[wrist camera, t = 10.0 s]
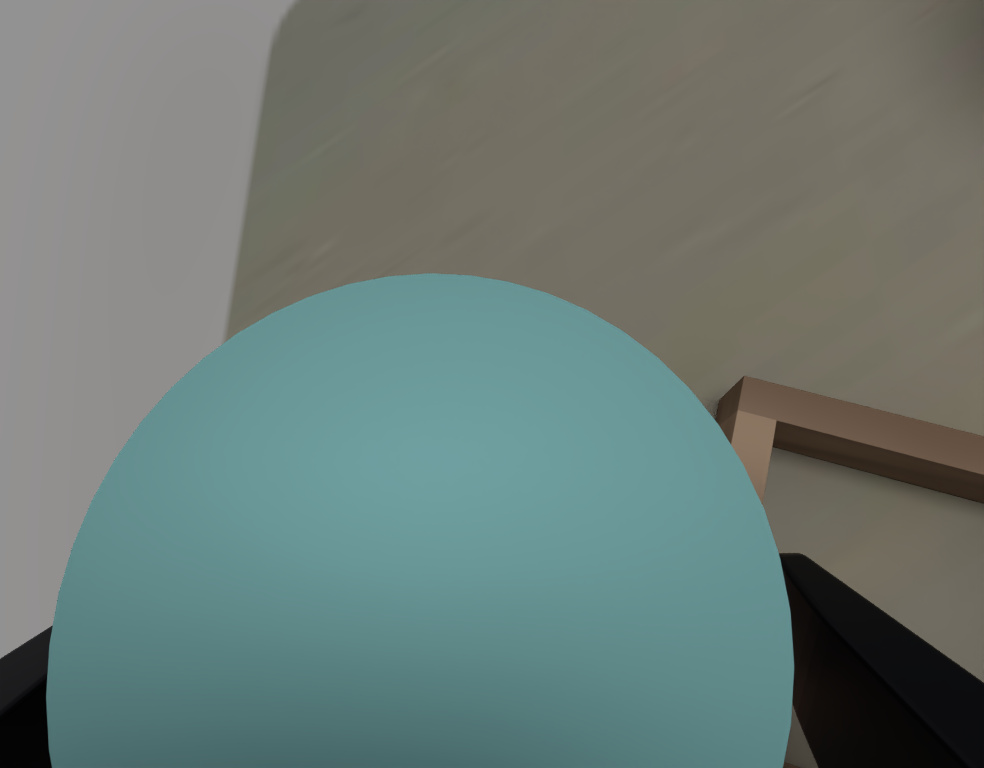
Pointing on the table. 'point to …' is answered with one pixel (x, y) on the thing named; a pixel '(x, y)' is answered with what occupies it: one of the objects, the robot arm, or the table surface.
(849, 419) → the open square brown frame
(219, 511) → the teal-capped grey cylinder
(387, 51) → the table surface
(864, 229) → the table surface
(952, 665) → the robot arm
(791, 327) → the table surface
